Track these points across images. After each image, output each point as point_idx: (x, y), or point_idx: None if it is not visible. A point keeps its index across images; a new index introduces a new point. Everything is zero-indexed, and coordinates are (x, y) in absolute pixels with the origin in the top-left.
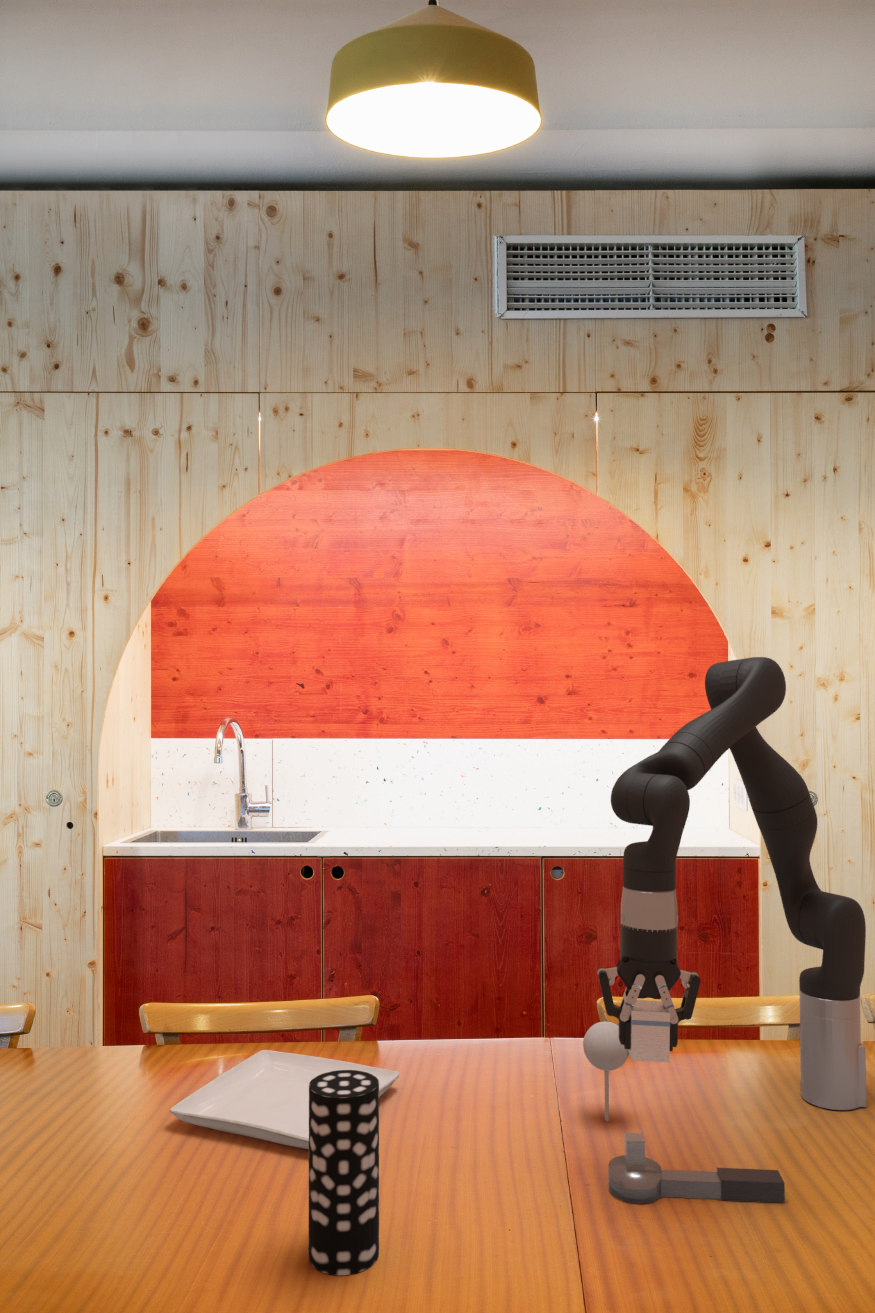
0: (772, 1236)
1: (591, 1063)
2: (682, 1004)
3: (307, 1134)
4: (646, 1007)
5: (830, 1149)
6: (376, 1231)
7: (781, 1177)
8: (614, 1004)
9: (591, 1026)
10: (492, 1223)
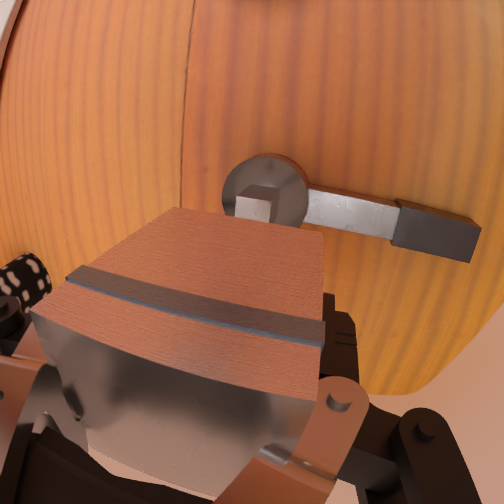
0: (404, 313)
1: None
2: (403, 475)
3: None
4: (147, 452)
5: None
6: (37, 297)
7: (474, 248)
8: (8, 341)
9: None
10: (107, 249)
